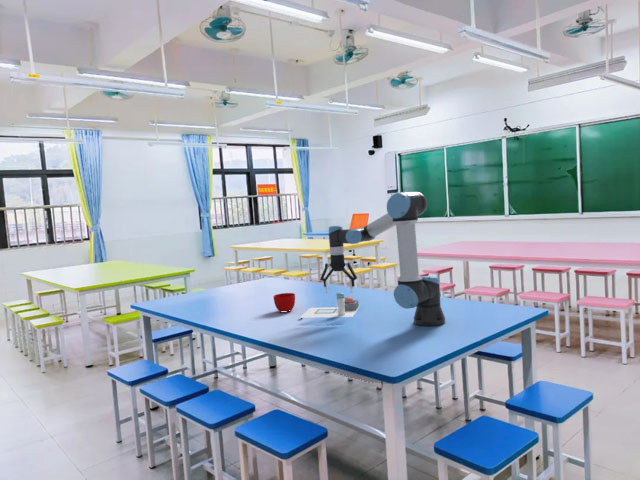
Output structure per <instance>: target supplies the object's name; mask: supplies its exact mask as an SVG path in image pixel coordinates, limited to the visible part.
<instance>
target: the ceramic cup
mask: <svg viewBox="0 0 640 480" xmlns="http://www.w3.org/2000/svg"><path fill="white" fill-rule="evenodd" d="M273 303H274V306H275V307H276V310H277V311H278V312H280V311H289V310H291V311H292V310H293V308H294V307H295V304H296V294H295V293H293V292H283V293H277V294H275V295H273Z"/></svg>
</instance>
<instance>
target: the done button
mask: <svg viewBox="0 0 640 480" xmlns="http://www.w3.org/2000/svg"><path fill="white" fill-rule="evenodd" d="M353 300H354V297H353V296H346V297H344V301H345V303H354V301H353Z"/></svg>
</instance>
